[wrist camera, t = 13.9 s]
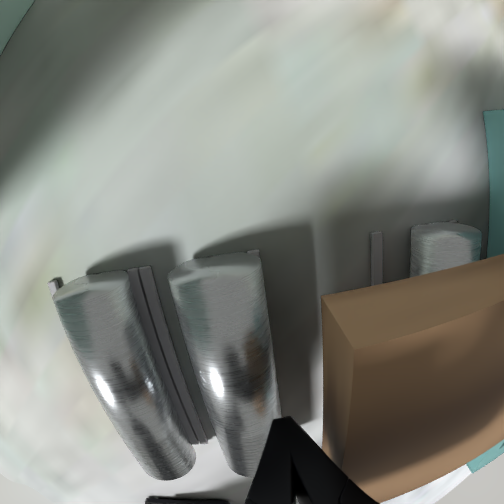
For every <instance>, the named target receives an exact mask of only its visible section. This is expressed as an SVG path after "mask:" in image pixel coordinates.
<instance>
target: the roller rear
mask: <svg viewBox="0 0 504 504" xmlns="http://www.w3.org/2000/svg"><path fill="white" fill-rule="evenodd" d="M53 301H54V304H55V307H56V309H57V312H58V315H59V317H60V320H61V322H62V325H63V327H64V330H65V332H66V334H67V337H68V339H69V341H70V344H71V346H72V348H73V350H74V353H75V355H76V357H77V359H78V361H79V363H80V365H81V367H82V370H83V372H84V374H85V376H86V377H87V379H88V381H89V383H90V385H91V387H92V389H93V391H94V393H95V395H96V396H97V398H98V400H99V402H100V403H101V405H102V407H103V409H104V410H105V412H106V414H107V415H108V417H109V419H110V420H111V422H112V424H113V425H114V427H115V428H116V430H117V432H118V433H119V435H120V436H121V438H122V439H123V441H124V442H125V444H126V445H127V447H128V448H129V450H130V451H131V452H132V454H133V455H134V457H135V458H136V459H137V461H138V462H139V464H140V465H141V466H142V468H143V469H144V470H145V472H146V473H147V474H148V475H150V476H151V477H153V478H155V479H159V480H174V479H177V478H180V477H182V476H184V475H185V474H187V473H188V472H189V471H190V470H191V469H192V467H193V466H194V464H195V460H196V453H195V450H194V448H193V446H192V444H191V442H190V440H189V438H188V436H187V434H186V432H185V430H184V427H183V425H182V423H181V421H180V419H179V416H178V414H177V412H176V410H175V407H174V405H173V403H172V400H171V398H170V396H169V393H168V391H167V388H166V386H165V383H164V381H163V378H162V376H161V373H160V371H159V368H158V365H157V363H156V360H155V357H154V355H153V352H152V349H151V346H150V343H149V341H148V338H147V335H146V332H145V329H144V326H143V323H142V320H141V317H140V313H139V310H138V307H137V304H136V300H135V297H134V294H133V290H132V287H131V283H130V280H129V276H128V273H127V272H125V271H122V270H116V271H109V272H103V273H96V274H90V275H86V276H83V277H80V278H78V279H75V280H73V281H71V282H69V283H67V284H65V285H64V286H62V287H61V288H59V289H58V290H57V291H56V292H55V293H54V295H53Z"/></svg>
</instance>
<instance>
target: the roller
mask: <svg viewBox="0 0 504 504" xmlns="http://www.w3.org/2000/svg"><path fill="white" fill-rule="evenodd" d="M481 240H482V232H481V231H480V230H478V229H477V228H475V227H472V226H469V225H465V224H460V223H453V222H436V223H429V224H421V225H415V226H413V227H412V228H411V259H410V278H411V277H415V276H419V275H424V274H428V273H432V272H436V271H440V270H444V269H448V268H452V267H456V266H460V265H464V264H468V263H472V262H476V261H479V260H480V252H481Z"/></svg>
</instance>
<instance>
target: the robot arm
mask: <svg viewBox="0 0 504 504" xmlns="http://www.w3.org/2000/svg"><path fill="white" fill-rule="evenodd" d="M296 496H297V499H298V502H299V504H380V503H378V502H377V501H375V500H374V499H373V498H371V497H370V496H369V495H367V494H366V493H365V492H364V491H363V490H362V489H361V488H359V487H358V486H357V485H356V484H355V483H354V482H353V481H352V480H351V479H349V477H348V476H347V475H346V474H345V473H344V472H343V471H342V470H341V469H340V468H339V467H338V466H337V465H336V464H335V463H334V462H333V461H332V460H331V459H330V458H329V457H328V455H327V454H326V453H325V452H324V451H323V450H322V449H321V448H320V447H319V446H318V445H317V444H316V443H315V442H314V441H313V439H312V438H311V437H310V436H309V435H308V434H307V433H306V432H305V431H304V430H303V428H302V427H301V426H300V425H299V424H298V423H297V422H296V421H295V419H294V418H293V417H291V416H287V417H281V418H276V419H273V421H272V424H271V427H270V430H269V433H268V436H267V440H266V443H265V446H264V449H263V452H262V455H261V458H260V461H259V464H258V467H257V470H256V473H255V476H254V479H253V482H252V485H251V487H250V490H249V493H248V496H247V499H246V501H245V504H296ZM145 504H230V503H229V502H228V501H225V500H210V501H191V500H166V499H153V498H146V501H145Z"/></svg>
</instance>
